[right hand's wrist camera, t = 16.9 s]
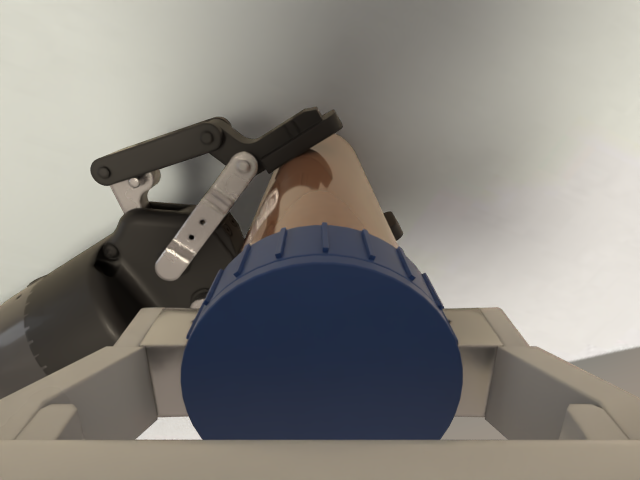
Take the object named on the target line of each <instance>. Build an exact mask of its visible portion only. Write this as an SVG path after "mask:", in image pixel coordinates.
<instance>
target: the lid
mask: <svg viewBox="0 0 640 480" xmlns="http://www.w3.org/2000/svg"><path fill="white" fill-rule="evenodd" d="M442 309H444V306H443V304H442V303H441V301H440V299H439V297H438V295H437V293H436V291H435V289H434V288H433V286H432V284H431V282H430V280H429V278H428V276H427V275H426V273H423V274H421V273H420V271H419V270H418V268H417V267H416V266H415V265H414V264H413V263H412V262H411V261H410V260H409V259H408V258H407V257H406V256H405V254H404V251H403V249H402V248H400V247H398V248H397V249H396V248H395V247H394V246H392V245H391V244H389V243H387V242H385V241H384V240H382V239H380V238H378V237H376V236H373V235H371V234H369V233H368V230H365V229H363V230H362V231H359V230H356V229H352V228H348V227H341V226H333V225H327V223H325V222H322V225H311V226H302V227H296V228H291V229H287V230H286V227H284V228H281V230H280V232H277V233H275V234H272V235H270V236H267V237H265V238H263V239H261V240H259V241H258V242H256V243H254V244H252V245H251V246H250V244H249V243H248V244H247V245H245V247H244V249H243V251H242V252H241V253H240V254H239V255H238V256H237V257H235V258H234V259H233V260H232V261H231V262H230V263H229V264H228V266H227V267H226V268H225V269H224V270H222V269H220V270H219V271H218V273H217V275H216V277H215V279H214V281H213V283H212V285H211V287H210V289H209V291H208V294H207V296H206V298H205V300H204V301H203V303H202V305H201V307H200V309H199V311H198V313H197V315H196V317H195V319H194V321H193V323H192V325H191V327H190V329H189V331H188V333H187V336H186V339H188V342H187V344H186V347H185V350H184V354H183V359H182V364H181V380H180V382H181V390H182V397H183V401H184V404H185V408H186V411H187V413H188V416H189V418H190V420H191V422H192V424H193V426H194V428H195V429H196V431H197V432H198V434H199V435H200V437H201V438H202V439H203V440H440V439H441V438H442V436H443V435H444V433H445V432H446V430H447V429H448V427H449V426H450V424H451V422H452V420H453V418H454V416H455V414H456V411H457V408H458V405H459V402H460V398H461V392H462V385H463V366H462V360H461V354H460V350H459V347H458V345H457V344H458V339H457V337H456V335H455V333H454V331H453V329H452V327H451V325H450V323H449V321H448V320H447V318H446V316H445V314H444V312H443V310H442Z"/></svg>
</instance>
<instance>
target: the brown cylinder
mask: <svg viewBox="0 0 640 480" xmlns="http://www.w3.org/2000/svg"><path fill="white" fill-rule="evenodd" d="M322 222H325V223H327V225H333V226H341V227H348V228H352V229H356V230H359V231H362V230H363V229H365V230H368V233H369V234H371V235H373V236H376V237H378V238H380V239H382V240H384V241H385V242H387V243H389V244H391V245H392V246H394V247H395V248H396V249H397V248H398V247H399V246H398V244H397V242H396V239H395V237H394V235H393V233H392V231H391V229H390V227H389V224H388V222H387V220H386V218H385V216H384V214H383V211H382V209H381V207H380V205H379V203H378V201H377V198H376V196H375V194H374V192H373V190H372V188H371V186H370V183H369V181H368V179H367V177H366V175H365V173H364V170H363V168H362V166H361V164H360V162H359V160H358V157H357V155H356V153H355V151H354V150H353V148H352V147H351V145H350V144H349V143H348V142H347V141H346V140H345V139H343V138H342V137H341V136H339V135H337V134H333V135H331V136H330V137H328V138H326V139H325V140H323V141H322V142H320V143H318V144H317V145H315V146H313V147H312V148H310V149H308V150H307V151H305V152H304V153H302V154H300V155H299V156H297V157H295V158H294V159H292V160H290V161H288V162H287V163H286V164H284V165H282V166H281V167H279V168H278V169H276V170H274V172H273V174H272V177H271V179H270V181H269V184H268V186H267V188H266V191H265V193H264V195H263V198H262V200H261V202H260V205H259V207H258V210H257V212H256V214H255V217H254V219H253V221H252V224H251V226H250V228H249V231H248V233H247V235H246V238H245V240H244V243H243V245H242V247H241V250H240V252H239V254H240V253H241V252H242V251H243V249H244V247H245V245H247V244H248V243H249V244H250V246H251V245H252V244H254V243H256V242H258V241H259V240H261V239H263V238H265V237H267V236H270V235H272V234H275V233H277V232H280V230H281V228H284V227H286V230H287V229H291V228H296V227H302V226H311V225H322ZM239 254H238V255H239Z"/></svg>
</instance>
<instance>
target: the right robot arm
mask: <svg viewBox="0 0 640 480" xmlns="http://www.w3.org/2000/svg"><path fill="white" fill-rule="evenodd" d="M199 309H200V308H164V307H155V308H142V309H141V310H140V311H139V312H138V313H137V315H136V316H135V318H134V319H133V320H132V322H131V323H130V324H129V326H128V327H127V328H126V330H125V331H124V332H123V334H122V335H121V336H120V338H119V339H118V340H117V342H116V343H115V344H114V346H106V347H104V348H102V349H100V350H98V351H96V352H94V353H92V354H90V355H88V356H86V357H84V358H82V359H80V360H78V361H76V362H74V363H72V364H70V365H68V366H66V367H64V368H62V369H60V370H58V371H56V372H54V373H52V374H50V375H48V376H46V377H44V378H42V379H40V380H38V381H36V382H34V383H32V384H30V385H28V386H26V387H24V388H22V389H20V390H18V391H16V392H14V393H12V394H10V395H8V396H6V397H4V398H2V399H0V480H640V398H639V397H637V396H635V395H633V394H631V393H629V392H627V391H625V390H623V389H621V388H619V387H617V386H615V385H613V384H611V383H609V382H607V381H605V380H603V379H601V378H599V377H597V376H595V375H593V374H591V373H589V372H587V371H585V370H583V369H581V368H579V367H577V366H575V365H573V364H571V363H569V362H567V361H565V360H563V359H561V358H559V357H557V356H555V355H553V354H551V353H549V352H547V351H545V350H543V349H541V348H539V347H537V346H529V345H528V343H527V342H526V341H525V339H524V338H523V337H522V335H521V334H520V333H519V332H518V330H517V329H516V328H515V326H514V325H513V324H512V322H511V321H510V320H509V318H508V317H507V316H506V314H505V313H504V312H503V310H502V309H500V308H498V307H490V308H452V309H442V310H443V312H444V314H445V316H446V318H447V320H448V321H449V323H450V325H451V327H452V329H453V331H454V333H455V335H456V337H457V339H458V344H457V345H458V347H459V350H460V354H461V360H462V366H463V385H462V392H461V398H460V402H459V405H458V408H457V411H456V414H455V416H458V417H485V420H487V421H488V422H489V423H490V424H491V425H492V426H493V427H495V428H496V429H497V430H498V431H499V432H500V433H501V434H502V435H503V436H505V437H506V438H507V439H508V440H135V439H136V438H137V437H138V436H140V435H141V434H142V433H143V432H144V431H145V430H146V429H147V428H148V427H150V426H151V425H152V424H153V423H154V422H155V421H156V420H157V419H158V418H157V417H184V416H188V413H187V411H186V408H185V404H184V401H183V397H182V390H181V382H180V380H181V364H182V359H183V354H184V350H185V347H186V344H187V342H188V339H186V336H187V333H188V331H189V329H190V327H191V325H192V323H193V321H194V319H195V317H196V315H197V313H198V311H199Z"/></svg>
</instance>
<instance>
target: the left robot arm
mask: <svg viewBox="0 0 640 480" xmlns="http://www.w3.org/2000/svg"><path fill="white" fill-rule="evenodd" d="M342 127H343V126H342V123H341V121H340V119H339V118H338V116H337V114H336V112H335V111H334V110H331V111H330V112H328V113H326V114H324V115H323V116H322V115H321V113H320V112H319V110H318V108H317V107H313V108H307V109H304V110H302V111H301V112H299V113H297V114H296V115H294V116H293V117H291V118H290V119H288V120H287V121H285V122H283V123H282V124H280V125H279V126H277V127H275V128H274V129H272V130H271V131H269V132H268V133H266V134H264V135H263V136H261V137H259V138H256V139H250V138H246V137H244V136H243V135H241V134H240V133H239V132H237V131H236V130H235V129H233V128H232V126H231V124H230V122H229V121H228V120H227V119H225V118H223V117H214V118H211V119H208V120H205V121H202V122H199V123H196V124H193V125H190V126H188V127H185V128H182V129H179V130H176V131H173V132H170V133H167V134H164V135H161V136H158V137H155V138H152V139H149V140H147V141H144V142H141V143H138V144H135V145H132V146H129V147H126V148H123V149H121V150H118V151H116V152H113V153H111V154H108V155H106V156H104V157H101V158H99V159H96V160H95V161H94V162H93V163H92V165H91V175H92V177H93V178H94V180H95V181H96V182H98V183H99V184H101V185H104V186H110V187H111V189H112V191H113V193H114V194H115V196H116V198H117V200H118V202H119V204H120V206H121V208H122V210H123V212H124V215H123V216H122V217H121V219H120V221H119V223H118V226H117V228H116V230H115V231H114V233H112V234H111V235H109V236H107V237H106V238H104V239H103V240H101V241H100V242H98V243H96V244H95V245H93V246H92V247H90V248H89V249H87V250H85V251H84V252H82V253H81V254H79V255H78V256H76V257H74V258H73V259H71V260H70V261H68V262H67V263H65V264H63V265H62V266H60V267H59V268H57V269H55V270H54V271H52V272H51V273H49V274H48V275H45V276H43V277H40V278H38V279H36V280H34V281H33V282H31V283H30V284H29V285H28V286H27V288H25V289H24V290H22V291H21V292H19V293H18V294H16V295H14V296H13V297H11V298H10V299H9V300H7V301H6V302H4V303H3V304H2V305H1V306H0V399H2V398H4V397H6V396H8V395H10V394H12V393H14V392H16V391H18V390H20V389H22V388H24V387H26V386H28V385H30V384H32V383H34V382H36V381H38V380H40V379H42V378H44V377H46V376H48V375H50V374H52V373H54V372H56V371H58V370H60V369H62V368H64V367H66V366H68V365H70V364H72V363H74V362H76V361H78V360H80V359H82V358H84V357H86V356H88V355H90V354H92V353H94V352H96V351H98V350H100V349H102V348H104V347H106V346H114V344H115V343H116V342H117V340H118V339H119V338H120V336H121V335H122V334H123V332H124V331H125V330H126V328H127V327H128V326H129V324H130V323H131V322H132V320H133V319H134V318H135V316H136V315H137V313H138V312H139V311H140V310H141V309H142V308H155V307H164V308H200V307H201V305H202V303H203V301H204V300H205V298H206V296H207V294H208V291H209V289H210V287H211V285H212V283H213V281H214V279H215V277H216V275H217V273H218V271H219V270H220V269H222V270H224V269H225V268H226V267H227V266H228V264H229V263H230V262H231V261H232V260H233V259H234V258H235V257H237V256H238V254H239V252H240V250H241V247H242V245H243V243H244V240H245V239H244V238H243V235H242V233H241V230H240V227H239V225H238V223H237V222H236V220H235V219H234V218H233V216H232V215H231V213H230V212H229V213H227V212H228V211H229V210H230V208H231V207H232V205H233V204H234V203H235V201H236V200H237V199H238V197H239V196H240V195H241V193H242V192H243V191H244V189H245V188H246V187H247V185H248V184H249V183H250V181H251V180H252V179H253V177H254V176H256V175H258V174H259V173H261V172H262V171H264V170H267V171H268V173H271V172H273V171H274V170H276V169H278V168H279V167H281V166H282V165H284V164H286V163H287V162H288V161H290V160H292V159H294V158H295V157H297V156H299V155H300V154H302V153H304V152H305V151H307V150H308V149H310V148H312V147H313V146H315V145H317V144H318V143H320V142H322V141H323V140H325V139H326V138H328V137H330V136H331V135H333V134H335V133H336V132H337V131H339V130H340V129H341V128H342ZM207 153H210V154H211V155H212V156H214V157H215V158H216V159H218V160H219V161H220V162H222V163H223V164H224V165H226V167H225V168H224V170H223V171H222V172H221V174H220V175H219V176H218V178H217V179H216V181H215V182H214V183H213V185H212V186H211V188H210V189H209V190H208V191H207V193H206V194H205V195H204V197H203V198H202V199H201V201H200V202H199V203H198V205H187V204H175V203H162V202H149V201H148V197H147V195H148V191H149V189H151V188H152V187H154V186H155V185H156V184H158V182H159V181H160V178H161V174H160V170H159V169H162V168H165V167H168V166H171V165H174V164H177V163H180V162H183V161H186V160H189V159H192V158H195V157H198V156H201V155H204V154H207ZM383 214H384V216H385V218H386V220H387V222H388V224H389V227H390V229H391V231H392V233H393V235H394V237H395V239H396V241H397V240H398V239H399V238H401V236H402V235H403V232H402V230H401V228H400V225H399V223H398V222H397V220H396V218H395V216H394V215H393V213H392V212H386V213H383Z"/></svg>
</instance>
